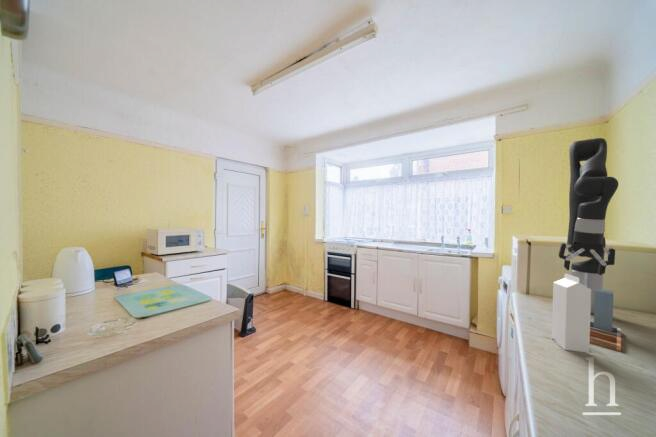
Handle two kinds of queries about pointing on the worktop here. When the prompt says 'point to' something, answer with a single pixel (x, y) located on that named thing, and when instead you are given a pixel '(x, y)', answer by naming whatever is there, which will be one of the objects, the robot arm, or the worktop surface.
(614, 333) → the socket board
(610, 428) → the worktop surface
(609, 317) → the post
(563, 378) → the worktop surface
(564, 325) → the milk
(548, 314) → the worktop surface
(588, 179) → the robot arm
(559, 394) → the worktop surface
